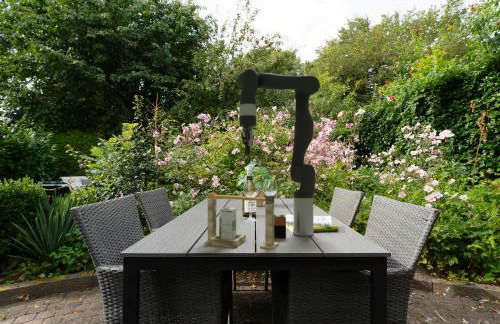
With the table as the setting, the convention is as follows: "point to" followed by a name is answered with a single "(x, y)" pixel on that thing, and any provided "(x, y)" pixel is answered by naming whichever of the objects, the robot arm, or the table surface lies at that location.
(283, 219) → the battery
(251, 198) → the tan wooden bar
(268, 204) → the clamp rig
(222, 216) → the syrup box
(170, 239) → the table surface
